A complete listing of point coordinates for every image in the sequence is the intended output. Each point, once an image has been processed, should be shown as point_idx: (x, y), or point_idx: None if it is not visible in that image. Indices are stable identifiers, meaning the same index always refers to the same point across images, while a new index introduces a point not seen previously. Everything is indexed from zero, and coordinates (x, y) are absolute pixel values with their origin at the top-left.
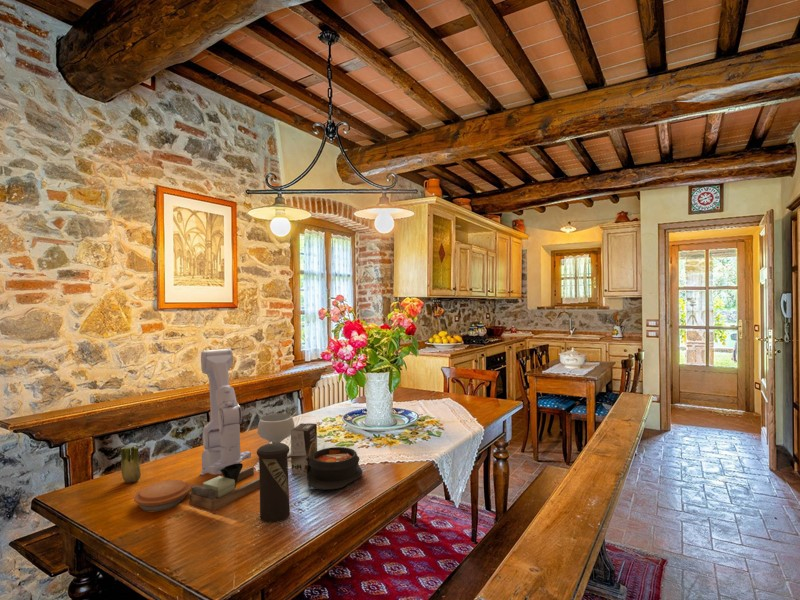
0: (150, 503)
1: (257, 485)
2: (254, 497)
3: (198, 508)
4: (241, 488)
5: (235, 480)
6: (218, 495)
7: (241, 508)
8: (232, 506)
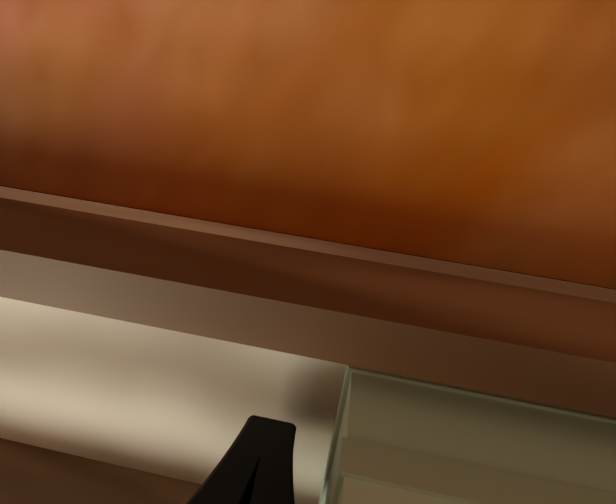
0: None
1: (74, 226)
2: (240, 141)
3: None
4: (325, 313)
5: (236, 495)
6: None
7: (550, 93)
8: (511, 240)
